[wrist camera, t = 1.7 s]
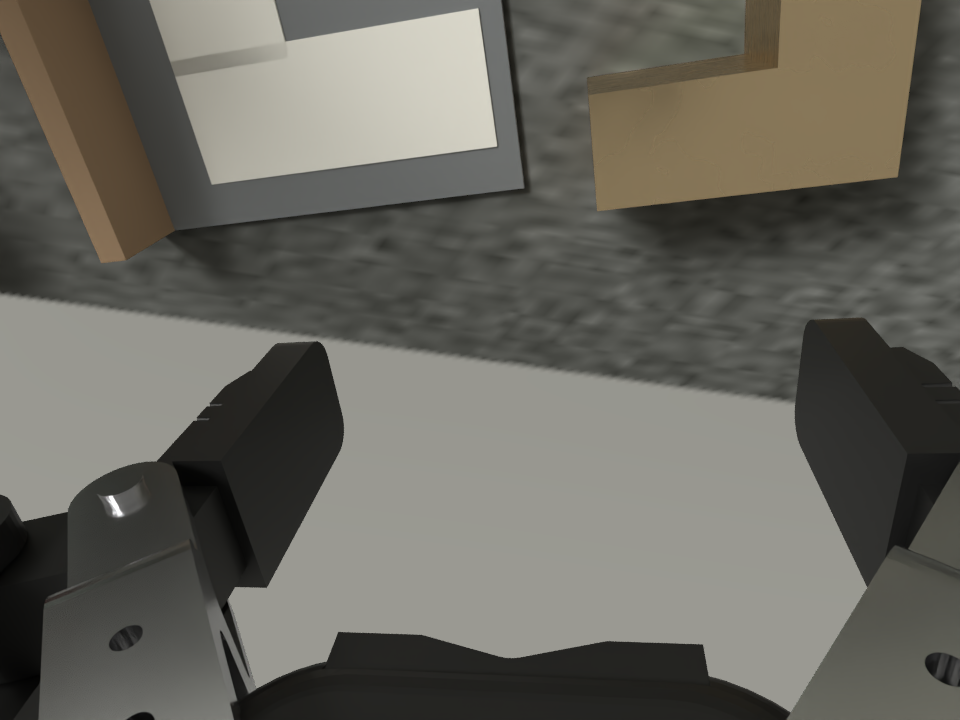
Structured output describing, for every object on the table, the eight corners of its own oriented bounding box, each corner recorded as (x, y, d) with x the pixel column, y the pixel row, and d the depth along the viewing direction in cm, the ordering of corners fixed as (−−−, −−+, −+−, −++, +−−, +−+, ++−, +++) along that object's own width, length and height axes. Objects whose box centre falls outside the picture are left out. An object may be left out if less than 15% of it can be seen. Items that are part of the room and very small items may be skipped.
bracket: (846, 146, 27) (897, 177, 23) (594, 177, 29) (597, 211, 25) (883, -238, 21) (961, -295, 17) (568, -170, 23) (566, -205, 19)
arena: (-3, -179, 25) (-106, -209, 22) (464, -301, 22) (441, -361, 18) (156, 230, 33) (101, 263, 29) (524, 185, 29) (516, 215, 26)
